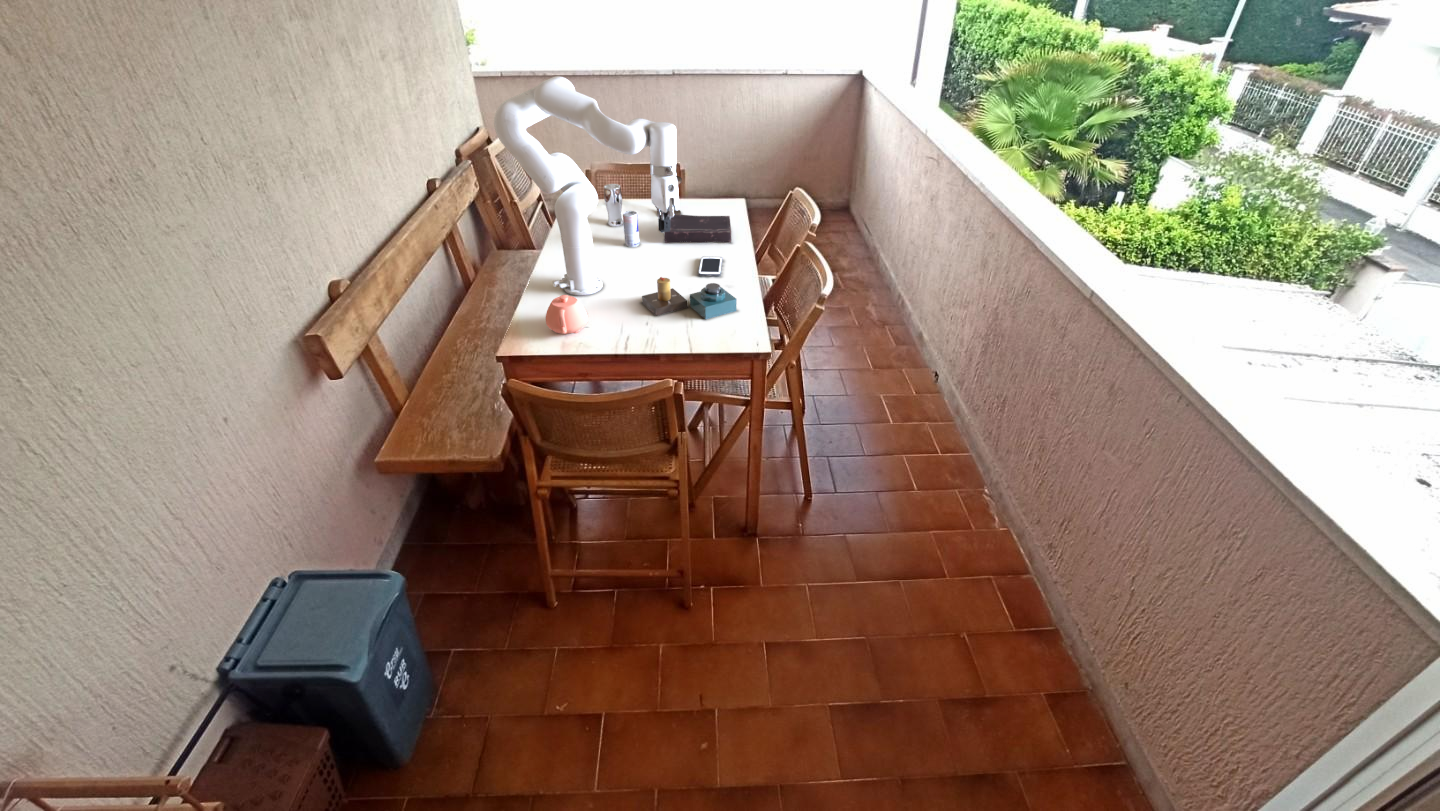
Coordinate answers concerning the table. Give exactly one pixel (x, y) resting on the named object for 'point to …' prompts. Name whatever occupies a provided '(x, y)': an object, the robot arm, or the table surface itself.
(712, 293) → the dark grey push button
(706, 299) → the teal push button box
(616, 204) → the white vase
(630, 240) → the energy drink
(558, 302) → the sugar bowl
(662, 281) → the knob
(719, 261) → the cell phone
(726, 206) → the table surface
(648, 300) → the knob panel
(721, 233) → the diary
